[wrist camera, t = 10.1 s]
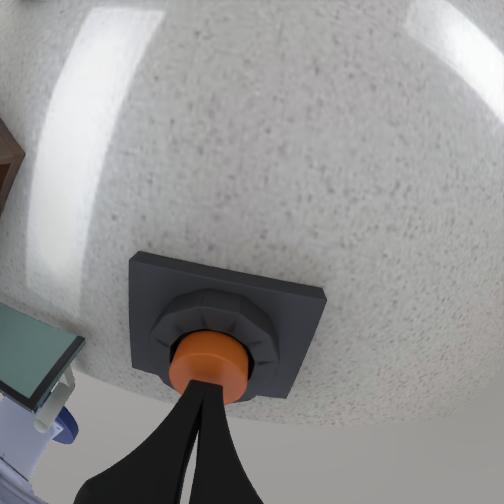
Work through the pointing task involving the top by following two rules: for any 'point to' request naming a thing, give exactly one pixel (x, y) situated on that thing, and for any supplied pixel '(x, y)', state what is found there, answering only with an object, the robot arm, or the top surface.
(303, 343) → the switch block
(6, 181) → the cabinet
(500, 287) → the top surface
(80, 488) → the robot arm
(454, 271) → the top surface
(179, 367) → the light button
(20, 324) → the glass door
